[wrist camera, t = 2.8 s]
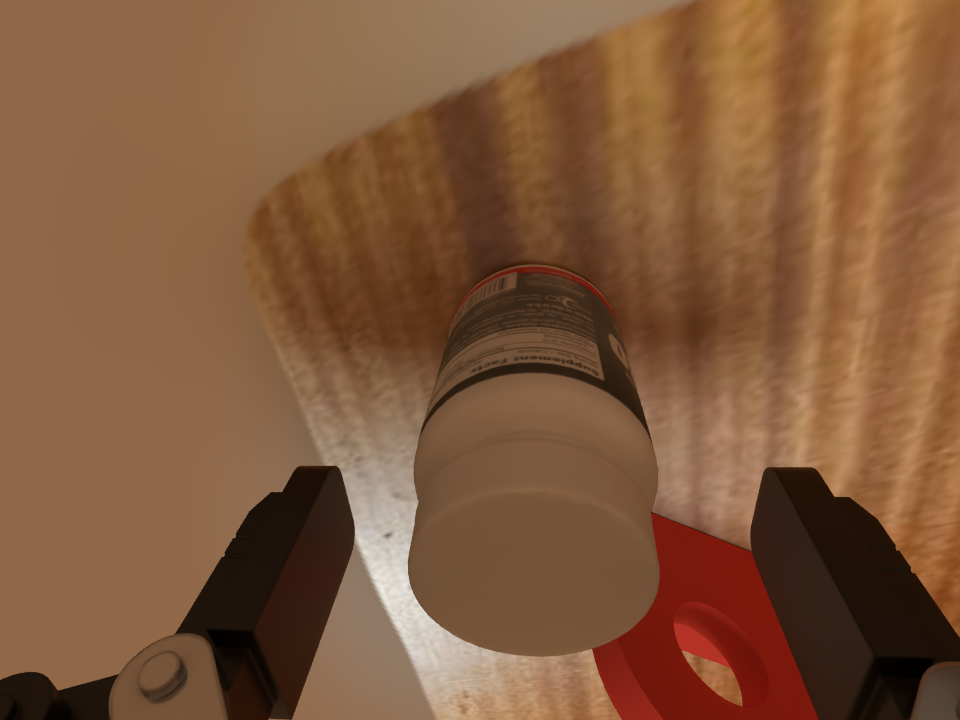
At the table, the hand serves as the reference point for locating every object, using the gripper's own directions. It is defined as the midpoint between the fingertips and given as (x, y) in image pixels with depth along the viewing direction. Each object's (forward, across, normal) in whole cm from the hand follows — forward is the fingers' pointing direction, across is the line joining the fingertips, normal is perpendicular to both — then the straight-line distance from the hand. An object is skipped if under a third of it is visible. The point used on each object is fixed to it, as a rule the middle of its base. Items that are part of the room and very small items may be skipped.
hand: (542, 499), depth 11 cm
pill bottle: (+6, 0, 0) cm, 6 cm away
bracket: (+6, -6, +10) cm, 14 cm away
